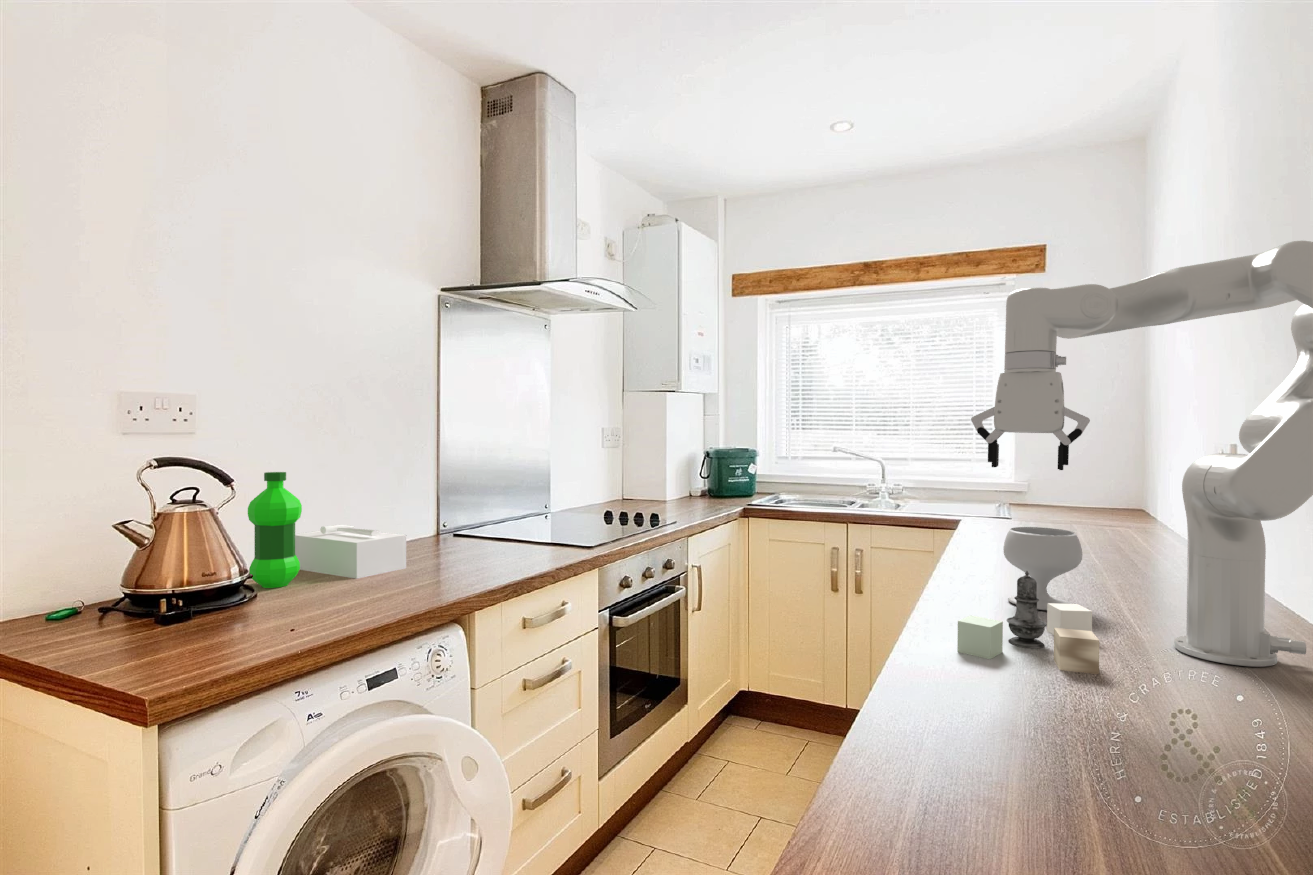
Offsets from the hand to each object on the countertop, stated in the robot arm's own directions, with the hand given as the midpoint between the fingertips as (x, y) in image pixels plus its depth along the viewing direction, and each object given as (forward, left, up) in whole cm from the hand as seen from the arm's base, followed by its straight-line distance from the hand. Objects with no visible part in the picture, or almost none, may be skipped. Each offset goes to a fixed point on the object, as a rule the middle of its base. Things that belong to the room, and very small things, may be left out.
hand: (1027, 468), depth 116 cm
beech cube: (-7, +9, -29) cm, 31 cm away
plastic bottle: (+145, +41, -29) cm, 153 cm away
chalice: (-1, -31, -29) cm, 42 cm away
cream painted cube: (-6, -9, -29) cm, 31 cm away
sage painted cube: (+6, +9, -29) cm, 31 cm away
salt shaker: (0, 0, -29) cm, 29 cm away
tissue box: (+149, +21, -29) cm, 153 cm away
